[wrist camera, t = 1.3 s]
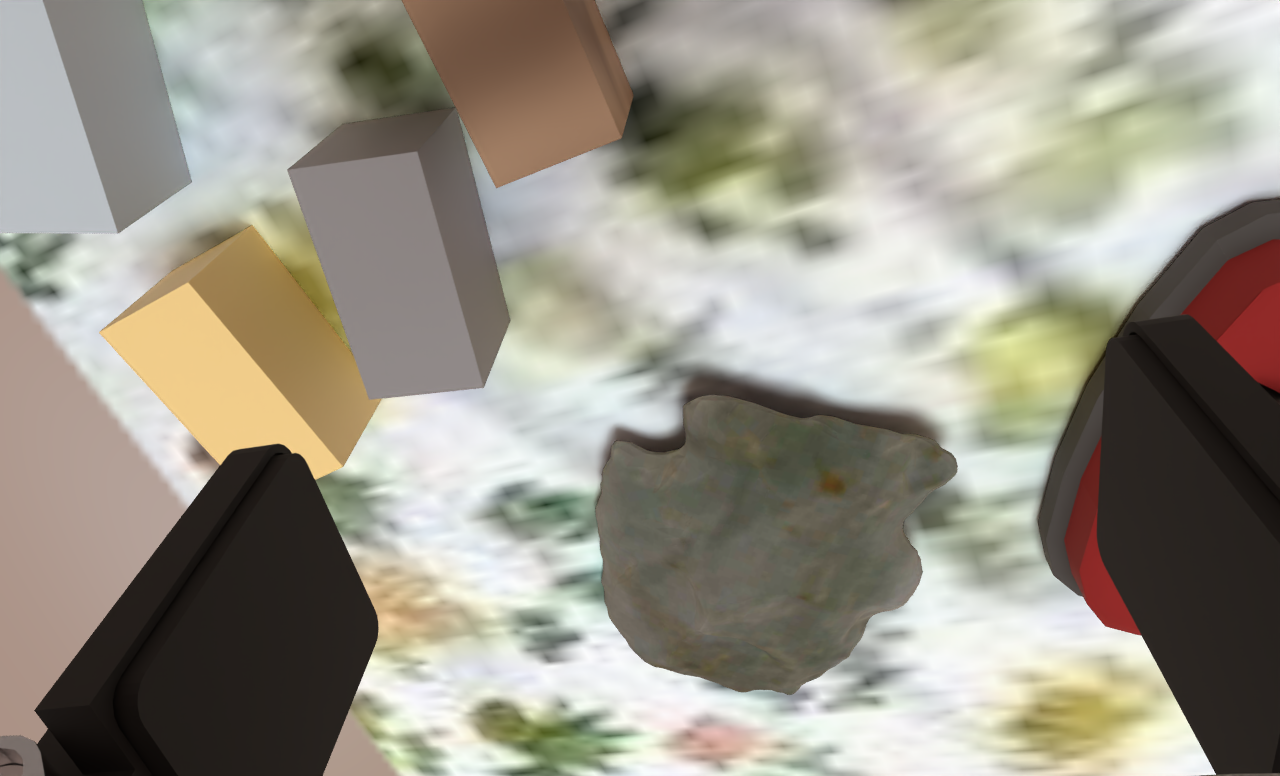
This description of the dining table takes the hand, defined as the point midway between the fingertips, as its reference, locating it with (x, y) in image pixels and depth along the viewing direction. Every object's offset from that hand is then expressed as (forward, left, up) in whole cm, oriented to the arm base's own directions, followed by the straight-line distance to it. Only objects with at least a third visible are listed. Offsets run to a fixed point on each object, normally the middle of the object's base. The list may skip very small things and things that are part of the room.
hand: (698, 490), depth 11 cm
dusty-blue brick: (-3, -20, -22) cm, 30 cm away
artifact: (+19, 0, -23) cm, 30 cm away
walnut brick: (-3, -5, -22) cm, 23 cm away
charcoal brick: (+4, -10, -22) cm, 25 cm away
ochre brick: (+8, -17, -22) cm, 29 cm away
